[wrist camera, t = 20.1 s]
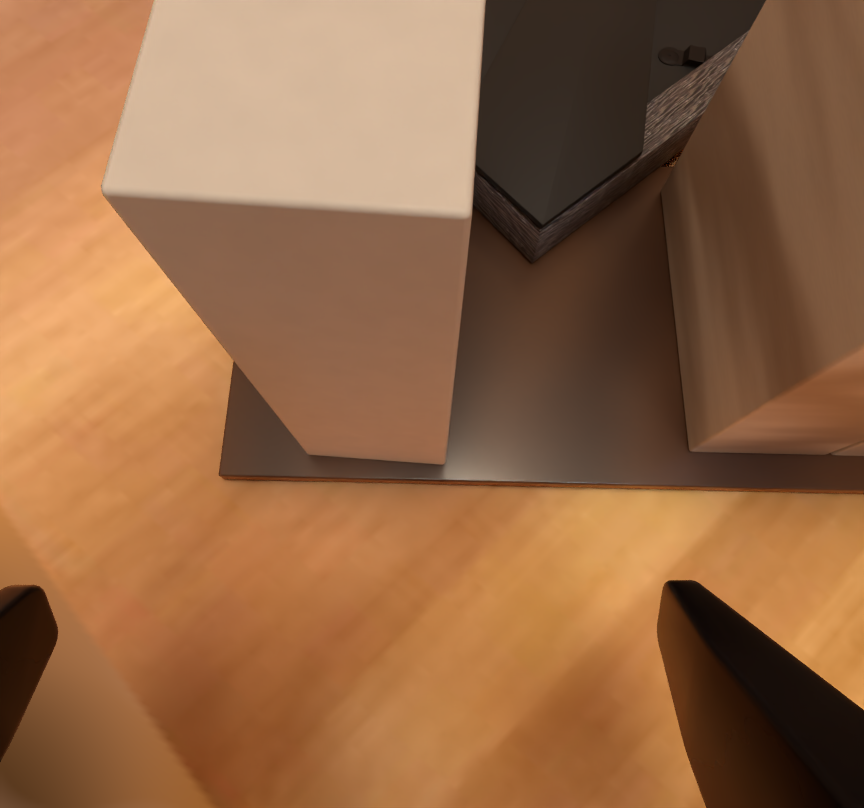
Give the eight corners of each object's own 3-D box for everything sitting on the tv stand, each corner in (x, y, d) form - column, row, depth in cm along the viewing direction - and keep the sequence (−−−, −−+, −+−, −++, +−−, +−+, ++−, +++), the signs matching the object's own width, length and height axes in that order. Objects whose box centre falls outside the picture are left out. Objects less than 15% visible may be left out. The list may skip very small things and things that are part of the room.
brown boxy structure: (223, 479, 18) (-159, 239, 6) (263, 167, 22) (63, -366, 10) (1011, 497, 18) (2100, 289, 6) (926, 181, 22) (1531, -341, 10)
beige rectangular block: (463, 200, 21) (505, -299, 9) (445, 465, 18) (472, 216, 7) (343, 192, 21) (239, -312, 9) (306, 455, 18) (94, 190, 7)
